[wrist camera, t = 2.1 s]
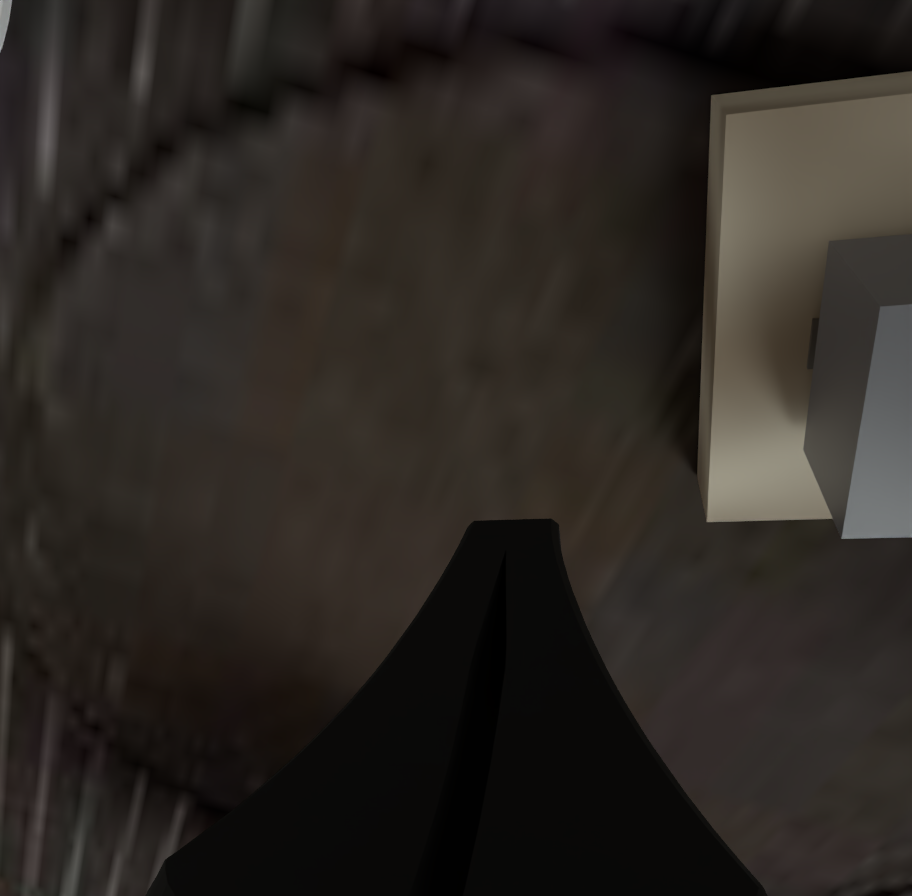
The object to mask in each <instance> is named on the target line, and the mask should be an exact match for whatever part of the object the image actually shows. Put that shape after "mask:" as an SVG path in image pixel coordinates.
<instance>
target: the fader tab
mask: <svg viewBox="0 0 912 896" xmlns="http://www.w3.org/2000/svg"><path fill="white" fill-rule="evenodd" d="M803 451H804V453H805V455H806V458H807V460H808V462H809V465H810V467H811V469H812V471H813V474H814V476H815V478H816V481H817V483H818V485H819V488H820V490H821V492H822V495H823V497H824V499H825V502H826V504H827V506H828V509H829V511H830V513H831V516H832V518H833V520H834V523H835V525H836V527H837V530H838V532H839V534H840V537H841V539H855V538H899V537H912V234H905V235H893V236H881V237H870V238H858V239H846V240H835V241H829V244H828V252H827V261H826V269H825V277H824V285H823V293H822V301H821V309H820V317H819V325H818V333H817V341H816V349H815V358H814V366H813V374H812V382H811V390H810V398H809V406H808V414H807V422H806V430H805V438H804V446H803Z"/></svg>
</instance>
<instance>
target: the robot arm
mask: <svg viewBox="0 0 912 896" xmlns="http://www.w3.org/2000/svg"><path fill="white" fill-rule="evenodd" d="M146 896H767V894H766V892H765V890H764V888H763V886H762V885H761V884H760V883H759V882H758V880H757V879H756V878H755V877H754V876H753V875H752V874H751V872H750V871H749V870H748V869H747V868H746V867H745V866H744V865H743V863H742V862H741V861H740V860H739V859H738V858H737V857H736V855H735V854H734V853H733V852H732V851H731V849H730V848H729V847H728V846H727V845H726V843H725V842H724V841H723V840H722V839H721V837H720V836H719V835H718V834H717V833H716V831H715V830H714V829H713V828H712V826H711V825H710V824H709V823H708V821H707V820H706V819H705V817H704V816H703V815H702V814H701V812H700V811H699V810H698V808H697V807H696V806H695V805H694V803H693V802H692V801H691V799H690V798H689V797H688V796H687V794H686V793H685V791H684V790H683V789H682V787H681V786H680V784H679V783H678V782H677V780H676V779H675V777H674V776H673V774H672V773H671V772H670V770H669V769H668V767H667V766H666V765H665V763H664V762H663V760H662V759H661V757H660V756H659V755H658V753H657V752H656V750H655V749H654V747H653V746H652V745H651V743H650V742H649V740H648V739H647V737H646V735H645V734H644V732H643V731H642V729H641V727H640V726H639V724H638V723H637V721H636V719H635V718H634V716H633V715H632V713H631V711H630V710H629V708H628V706H627V704H626V703H625V701H624V699H623V697H622V696H621V694H620V692H619V691H618V689H617V687H616V685H615V683H614V681H613V680H612V678H611V676H610V674H609V672H608V670H607V668H606V666H605V664H604V662H603V660H602V658H601V656H600V654H599V652H598V650H597V648H596V646H595V644H594V642H593V640H592V637H591V635H590V633H589V631H588V628H587V626H586V624H585V621H584V619H583V616H582V614H581V611H580V609H579V606H578V604H577V601H576V598H575V596H574V593H573V591H572V588H571V585H570V582H569V579H568V575H567V572H566V568H565V565H564V561H563V557H562V553H561V544H560V532H559V524H558V523H556V522H555V521H554V520H552V519H522V520H489V521H473V522H472V523H471V524H470V525H469V526H468V528H467V530H466V532H465V534H464V536H463V538H462V540H461V542H460V544H459V546H458V548H457V550H456V551H455V553H454V555H453V557H452V559H451V560H450V562H449V564H448V566H447V567H446V569H445V571H444V573H443V574H442V576H441V578H440V579H439V581H438V583H437V584H436V586H435V587H434V589H433V591H432V592H431V594H430V595H429V597H428V598H427V600H426V602H425V603H424V605H423V606H422V608H421V609H420V611H419V612H418V614H417V615H416V617H415V618H414V620H413V621H412V623H411V624H410V625H409V627H408V628H407V630H406V631H405V632H404V634H403V635H402V636H401V638H400V639H399V641H398V642H397V643H396V645H395V646H394V647H393V649H392V650H391V651H390V653H389V654H388V656H387V657H386V658H385V659H384V661H383V662H382V663H381V665H380V666H379V667H378V668H377V670H376V671H375V672H374V673H373V674H372V676H371V677H370V678H369V679H368V680H367V682H366V683H365V684H364V685H363V686H362V687H361V689H360V690H359V691H358V692H357V693H356V694H355V695H354V697H353V698H352V699H351V700H350V701H349V702H348V703H347V705H346V706H345V707H344V708H343V709H342V710H341V711H340V712H339V713H338V714H337V715H336V716H335V717H334V718H333V719H332V720H331V721H330V722H329V723H328V724H327V725H326V727H325V728H324V729H323V730H322V731H321V732H320V733H319V734H318V735H317V736H316V737H315V738H314V739H313V740H312V741H311V742H310V743H309V744H308V745H307V746H306V747H305V748H304V749H302V750H301V751H300V752H299V753H298V754H297V755H296V756H295V757H294V758H293V759H292V760H291V761H289V762H288V763H287V764H286V765H285V766H284V767H283V768H281V769H280V770H279V771H278V772H277V773H276V774H275V775H273V776H272V777H271V778H270V779H269V780H268V781H267V782H265V783H264V784H263V785H262V786H261V787H260V788H259V789H257V790H256V791H255V792H254V793H253V794H252V795H251V796H249V797H248V798H247V799H246V800H245V801H243V802H242V803H241V804H240V805H238V806H237V807H236V808H235V809H234V810H232V811H231V812H230V813H228V814H227V815H226V816H224V817H223V818H222V819H220V820H219V821H218V822H216V823H215V824H214V825H212V826H211V827H210V828H208V829H207V830H205V831H204V832H203V833H201V834H200V835H199V836H197V837H196V838H195V839H193V840H192V841H191V842H189V843H188V844H187V845H185V846H184V847H183V848H181V849H180V850H178V851H177V852H176V853H174V854H173V855H171V856H170V857H168V858H167V859H166V860H165V861H164V863H163V865H162V867H161V869H160V871H159V873H158V875H157V876H156V878H155V880H154V882H153V883H152V885H151V887H150V888H149V890H148V892H147V894H146Z"/></svg>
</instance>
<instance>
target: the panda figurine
mask: <svg viewBox="0 0 912 896" xmlns="http://www.w3.org/2000/svg"><path fill="white" fill-rule="evenodd" d="M11 4H12V0H0V51H1V48H2V46H3V43H4V39H5V35H6V31H7V27H8V23H9V17H10V11H11Z"/></svg>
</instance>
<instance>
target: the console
mask: <svg viewBox="0 0 912 896" xmlns="http://www.w3.org/2000/svg"><path fill="white" fill-rule="evenodd" d="M905 234H912V71H910V72H901V73H893V74H885V75H876V76H868V77H859V78H851V79H843V80H834V81H826V82H818V83H809V84H801V85H792V86H784V87H776V88H767V89H759V90H751V91H742V92H734V93H725V94H717V95H711V115H710V142H709V169H708V196H707V223H706V250H705V277H704V304H703V331H702V358H701V385H700V412H699V439H698V466H697V479H698V483H699V488H700V493H701V497H702V502H703V506H704V511H705V515H706V520H707V522H729V521H766V520H803V519H833V518H832V516H831V513H830V511H829V509H828V506H827V504H826V502H825V499H824V497H823V495H822V492H821V490H820V488H819V485H818V483H817V481H816V478H815V476H814V474H813V471H812V469H811V467H810V465H809V462H808V460H807V458H806V455H805V453H804V451H803V446H804V438H805V430H806V422H807V414H808V406H809V398H810V390H811V382H812V374H813V366H814V358H815V349H816V341H817V333H818V325H819V317H820V309H821V301H822V293H823V285H824V277H825V269H826V261H827V252H828V244H829V241H835V240H846V239H858V238H870V237H881V236H893V235H905Z"/></svg>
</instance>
